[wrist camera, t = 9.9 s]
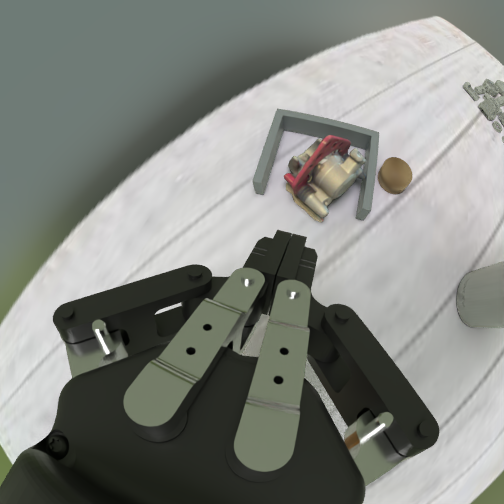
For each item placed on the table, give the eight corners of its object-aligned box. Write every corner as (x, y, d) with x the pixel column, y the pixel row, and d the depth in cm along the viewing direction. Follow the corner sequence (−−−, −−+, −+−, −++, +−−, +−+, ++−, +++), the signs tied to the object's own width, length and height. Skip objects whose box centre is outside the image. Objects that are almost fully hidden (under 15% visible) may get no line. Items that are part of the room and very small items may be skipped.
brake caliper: (315, 124, 40) (361, 114, 29) (348, 180, 44) (397, 186, 33) (260, 164, 39) (295, 163, 28) (299, 221, 43) (342, 239, 32)
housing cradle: (373, 146, 40) (379, 132, 36) (363, 220, 38) (370, 210, 34) (278, 123, 43) (277, 108, 39) (255, 193, 41) (252, 181, 37)
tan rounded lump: (406, 172, 39) (412, 163, 36) (404, 198, 38) (411, 190, 35) (379, 162, 40) (384, 153, 37) (375, 188, 39) (381, 180, 36)
